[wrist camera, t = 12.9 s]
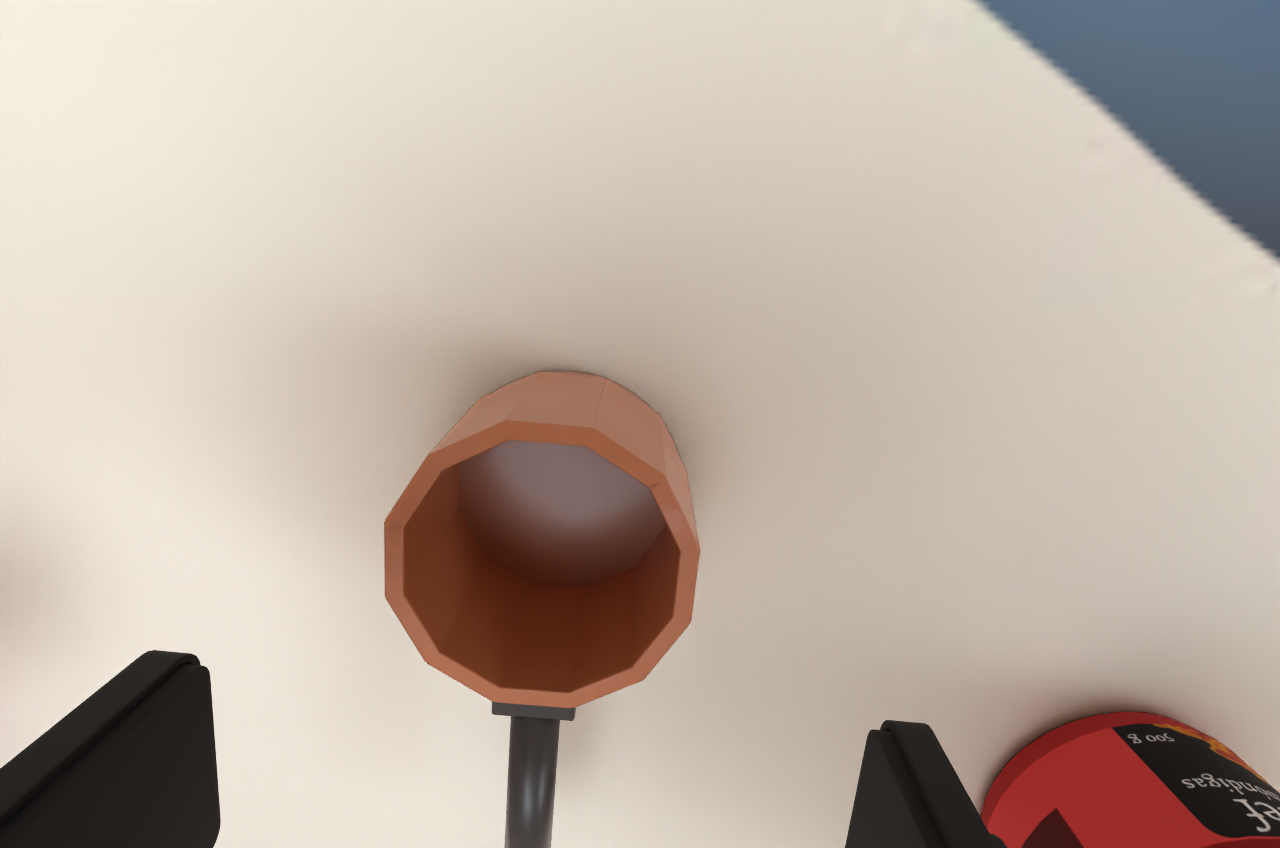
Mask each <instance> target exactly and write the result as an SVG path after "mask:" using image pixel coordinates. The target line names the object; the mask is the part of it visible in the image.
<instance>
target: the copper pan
mask: <svg viewBox="0 0 1280 848" xmlns="http://www.w3.org/2000/svg"><path fill="white" fill-rule="evenodd" d="M384 546H385V597H386V600H387V601H388V603H389V605H390V606H391V608H392V609H393V611H394V613H395V614H396V616H397V617H398V619H399V621H400V622H401V624H402V625H403V627H404V629H405V630H406V632H407V634H408V635H409V637H410V638H411V640H412V642H413V643H414V645H415V646H416V648H417V650H418V651H419V653H420V654H421V656H422V658H423V659H424V661H425V662H426V663H427V664H429V665H431V666H432V667H434V668H436V669H438V670H439V671H441V672H443V673H444V674H446V675H448V676H450V677H451V678H453V679H455V680H456V681H458V682H460V683H462V684H463V685H465V686H467V687H468V688H470V689H472V690H474V691H475V692H477V693H479V694H480V695H482V696H484V697H486V698H487V699H489V700H491V701H492V714H494V715H505V716H511V726H510V747H509V768H508V788H507V809H506V830H505V848H551V837H552V823H553V809H554V795H555V781H556V766H557V752H558V738H559V724H560V720H567V721H573V720H574V718H575V711H576V707H577V706H580V705H582V704H585V703H587V702H590V701H592V700H595V699H597V698H600V697H602V696H605V695H607V694H610V693H612V692H615V691H618V690H620V689H623V688H625V687H628V686H630V685H633V684H635V683H638V682H640V681H642V680H644V679H645V678H646V676H647V675H648V674H649V673H650V672H651V670H652V669H653V668H654V667H655V666H656V664H657V663H658V662H659V661H660V659H661V658H662V657H663V656H664V655H665V653H666V652H667V651H668V650H669V648H670V647H671V646H672V645H673V644H674V642H675V641H676V640H677V639H678V637H679V636H680V635H681V634H682V633H683V631H684V630H685V629H686V628H687V627H688V625H689V624H690V622H691V619H692V611H693V603H694V595H695V587H696V579H697V571H698V563H699V555H700V546H699V540H698V534H697V529H696V523H695V517H694V511H693V506H692V500H691V494H690V488H689V482H688V477H687V471H686V468H685V466H684V464H683V462H682V460H681V458H680V455H679V453H678V450H677V447H676V445H675V442H674V440H673V438H672V436H671V434H670V432H669V431H668V429H667V427H666V425H665V424H664V421H663V419H662V417H661V416H660V415H659V414H658V413H657V412H656V411H654V410H653V409H652V408H651V407H650V406H649V405H648V404H647V403H646V402H645V401H643V400H642V399H641V398H640V397H638V396H637V395H636V394H635V393H633V392H632V391H630V390H628V389H626V388H625V387H623V386H621V385H620V384H617V383H615V382H613V381H611V380H609V379H607V378H605V377H599V376H596V375H592V374H589V373H582V372H576V371H551V372H541V371H540V372H536V373H534V374H532V375H529V376H525V377H523V378H520V379H517V380H515V381H512V382H510V383H508V384H506V385H505V386H503V387H501V388H499V389H497V390H496V391H495V392H493V393H490V394H488V395H486V396H484V397H482V398H480V399H479V400H478V401H477V402H476V403H475V404H474V405H473V406H472V408H471V409H470V410H469V411H468V412H467V413H466V414H465V415H464V416H463V417H462V418H461V419H460V421H459V422H458V423H457V424H456V425H455V426H454V427H453V428H452V429H451V430H450V431H449V433H448V434H447V435H446V436H445V437H444V438H443V439H442V440H441V441H440V442H439V443H438V445H437V446H436V447H435V448H434V449H433V450H432V451H431V452H430V453H429V454H428V455H427V457H426V458H425V460H424V461H423V463H422V464H421V466H420V467H419V469H418V470H417V472H416V473H415V475H414V476H413V478H412V479H411V481H410V482H409V484H408V485H407V487H406V489H405V490H404V492H403V493H402V495H401V496H400V498H399V499H398V501H397V502H396V504H395V505H394V507H393V508H392V510H391V511H390V513H389V514H388V516H387V517H386V519H385V522H384Z"/></svg>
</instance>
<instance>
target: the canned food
mask: <svg viewBox="0 0 1280 848" xmlns="http://www.w3.org/2000/svg"><path fill="white" fill-rule="evenodd" d="M981 819H982V821H983V823H984V824H985V826H986V828H987V830H988V832H989V833H990V834H995V835H996V836H998V837H999V838H1000V839H1002V840H1003V842H1004V843H1005V845H1006V846H1007V847H1008V848H1280V793H1279V792H1277V791H1276V790H1275V789H1274V788H1273V787H1272V786H1271V785H1270V784H1268V783H1267V782H1266V781H1265V780H1264V779H1263V778H1262V777H1261V776H1259V775H1258V774H1257V773H1256V772H1255V771H1254V770H1253V769H1252V768H1251V767H1249V766H1248V765H1247V764H1246V763H1245V762H1244V761H1243V760H1242V759H1240V758H1239V757H1238V756H1237V755H1236V754H1235V753H1234V752H1233V751H1231V750H1230V749H1228V748H1227V747H1226V746H1224V745H1223V744H1221V743H1220V742H1218V741H1217V740H1215V739H1214V738H1212V737H1210V736H1208V735H1206V734H1204V733H1202V732H1200V731H1198V730H1196V729H1194V728H1192V727H1190V726H1188V725H1186V724H1183V723H1181V722H1178V721H1176V720H1173V719H1171V718H1169V717H1165V716H1160V715H1155V714H1150V713H1145V712H1114V713H1107V714H1100V715H1093V716H1090V717H1086V718H1083V719H1080V720H1076V721H1073V722H1070V723H1067V724H1065V725H1063V726H1061V727H1059V728H1056V729H1054V730H1052V731H1050V732H1048V733H1046V734H1044V735H1043V736H1041V737H1040V738H1038V739H1036V740H1035V741H1033V742H1032V743H1030V744H1029V745H1027V746H1026V747H1025V748H1023V749H1022V750H1021V751H1020V752H1019V753H1018V754H1017V755H1016V756H1015V757H1014V758H1013V759H1011V760H1010V761H1009V762H1008V763H1007V764H1006V766H1005V767H1004V768H1003V770H1002V771H1001V772H1000V774H999V775H998V776H997V778H996V779H995V780H994V782H993V784H992V786H991V788H990V790H989V792H988V794H987V796H986V798H985V801H984V805H983V809H982V814H981Z"/></svg>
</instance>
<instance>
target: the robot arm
mask: <svg viewBox="0 0 1280 848" xmlns="http://www.w3.org/2000/svg"><path fill="white" fill-rule="evenodd" d="M219 829H220V807H219V793H218V779H217V765H216V751H215V737H214V723H213V709H212V695H211V682H210V673H209V670H208V669H207V667H205V666H201V665H200V661H199V659H198V658H197V656H195V655H193V654H188V653H178V652H167V651H156V650H153V651H148V652H146V653H144V654H143V655H141V656H140V657H139V658H137V659H136V660H135V661H134V662H132V663H131V664H130V665H129V666H128V667H126V668H125V669H124V670H123V671H121V672H120V673H119V674H118V675H116V676H115V677H114V678H113V679H111V680H110V681H109V682H108V683H106V684H105V685H104V686H103V687H101V688H100V689H99V690H98V691H96V692H95V693H94V694H93V695H91V696H90V697H89V698H88V699H86V700H85V701H84V702H83V703H81V704H80V705H79V706H78V707H77V708H75V709H74V710H73V711H72V712H70V713H69V714H68V715H67V716H65V717H64V718H63V719H62V720H60V721H59V722H58V723H57V724H55V725H54V726H53V727H52V728H50V729H49V730H48V731H47V732H45V733H44V734H43V735H42V736H40V737H39V738H38V739H37V740H35V741H34V742H33V743H32V744H31V745H29V746H28V747H27V748H26V749H24V750H23V751H22V752H21V753H19V754H18V755H17V756H16V757H14V758H13V759H12V760H11V761H9V762H8V763H7V764H6V765H4V766H3V767H2V768H1V769H0V848H213V847H214V844H215V842H216V840H217V837H218V834H219ZM845 848H1008V847H1007V846H1006V845H1005V843H1004V842H1003V840H1002V839H1000V838H999V837H998V836H996V835H995V834H990V833H989V832H988V830H987V828H986V826H985V824H984V823H983V821H982V819H981V817H980V815H979V814H978V812H977V810H976V808H975V806H974V805H973V803H972V801H971V799H970V797H969V796H968V794H967V792H966V790H965V788H964V787H963V785H962V783H961V781H960V779H959V777H958V776H957V774H956V772H955V770H954V768H953V767H952V765H951V763H950V761H949V759H948V758H947V756H946V754H945V752H944V750H943V749H942V747H941V745H940V743H939V741H938V740H937V738H936V736H935V734H934V732H933V731H932V729H931V728H930V727H929V725H927V724H924V723H914V722H903V721H892V720H886V721H884V722H883V724H882V725H881V728H880V730H870V732H869V734H868V737H867V741H866V746H865V751H864V756H863V761H862V766H861V771H860V776H859V781H858V786H857V791H856V796H855V801H854V806H853V811H852V816H851V821H850V826H849V831H848V836H847V841H846V846H845Z"/></svg>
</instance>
